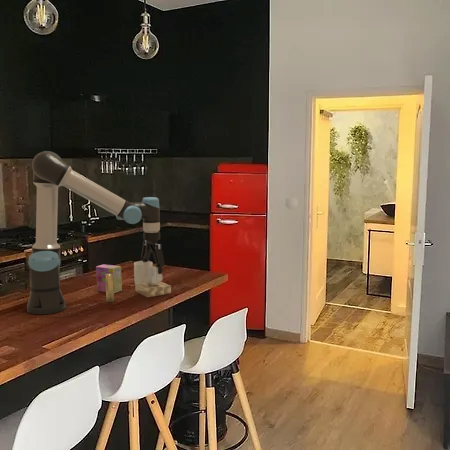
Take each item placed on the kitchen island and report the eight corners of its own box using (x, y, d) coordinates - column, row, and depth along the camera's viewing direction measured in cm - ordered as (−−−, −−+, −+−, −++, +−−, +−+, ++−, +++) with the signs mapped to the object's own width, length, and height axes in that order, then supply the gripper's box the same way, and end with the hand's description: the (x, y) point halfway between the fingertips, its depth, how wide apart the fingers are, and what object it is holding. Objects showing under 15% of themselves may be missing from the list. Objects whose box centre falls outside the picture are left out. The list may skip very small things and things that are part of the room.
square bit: (152, 293, 243) (151, 268, 241) (148, 292, 246) (148, 266, 244) (157, 292, 245) (157, 267, 243) (154, 291, 247) (154, 266, 246)
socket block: (147, 297, 237) (147, 289, 237) (135, 291, 247) (135, 284, 246) (171, 293, 244) (170, 285, 244) (158, 287, 254) (158, 280, 253)
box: (96, 291, 249) (95, 266, 247) (104, 288, 254) (103, 263, 252) (114, 293, 244) (113, 268, 242) (122, 290, 249) (121, 266, 247)
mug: (149, 287, 254) (148, 265, 252) (131, 287, 256) (131, 264, 254) (157, 281, 265) (157, 260, 264) (140, 281, 267) (140, 259, 266)
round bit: (108, 302, 229) (107, 275, 227) (105, 301, 231) (104, 274, 230) (115, 301, 231) (114, 274, 229) (112, 300, 233) (111, 273, 232)
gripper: (172, 233, 234) (173, 282, 237) (146, 227, 253) (148, 272, 256) (156, 235, 230) (158, 284, 233) (132, 229, 249) (133, 274, 252)
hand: (152, 278), depth 244 cm, fingers open, 11 cm apart
